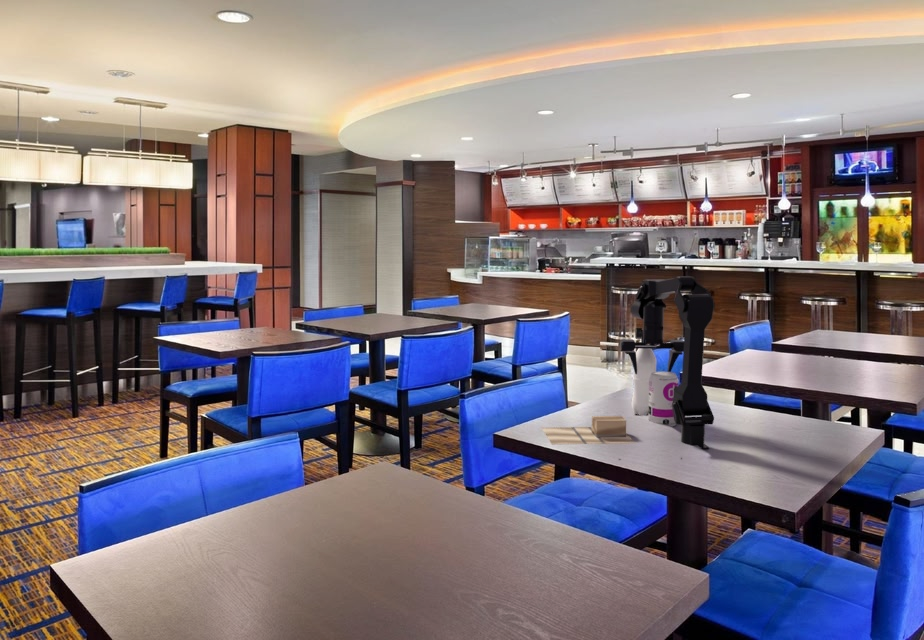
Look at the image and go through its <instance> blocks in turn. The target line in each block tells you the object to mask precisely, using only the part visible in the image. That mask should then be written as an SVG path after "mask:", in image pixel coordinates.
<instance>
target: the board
mask: <svg viewBox="0 0 924 640" xmlns="http://www.w3.org/2000/svg"><path fill="white" fill-rule="evenodd" d="M541 429H542V431H543V433H544V434H545V436H546V437H547V439H548V440H549V442H550V444H551V445H589V444H590V445H593V444H595V445H596V444H598V445H599V444H636V443H637V442H636V441H635V440H634V439H632V438H631V436H629V435H628V434H627V433H626V437H596V436H595V435H594V434H593V433H592V426H573V427H572V426H563V427H560V426H559V427H557V426H556V427H541Z"/></svg>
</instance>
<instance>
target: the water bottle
mask: <svg viewBox="0 0 924 640" xmlns="http://www.w3.org/2000/svg"><path fill="white" fill-rule="evenodd" d="M638 342H642V341H641V339H639V341H638ZM646 345H649V344H646ZM635 352H636V361H637V374H635V371H634V368H633V367H632V383H633V393H632V399H631V410H632V413H633V414H634V415H635V414H637V415H639V416H640V417H644V416H645V417H646V416H647V415H648V416H649V378H650V376H651V373H652V372H657V364H658V360H657V357H656V355H655V353H654V351H653V349H648V348H637V351H635Z"/></svg>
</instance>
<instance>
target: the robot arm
mask: <svg viewBox="0 0 924 640" xmlns="http://www.w3.org/2000/svg"><path fill="white" fill-rule="evenodd" d="M683 292H690V294H687V293H685V294H683ZM670 294H675V296H674V298H673V303H675V306H676V308H677V310H678V318H679V319H680V321H681V323H682V325H683V327H684V334H683V335H684V339H670V342H664V317H665V315H664V314H665V313H664V311H665V310H664V309H666V308H667V305H666V303H665V302H664V300H665V299H667V298H668V297H670ZM634 297H635V300H634V302H633V303H632V305H631V306H630V313H631V315H632V316H633V317H634V318H635V319H640V320H643V321H642V322H643V323H642V325H643V326H642V327H636V328H635V329H634V330H635V331H634V332H635V334H634V336H635V338H634V339H635V340H634V339H628V338H627V339H624V338H623V339H621V340H619V350H620V351H622V352H624V354H625V355H628V356H629V359H630V360H631V364H632V369H633V368H634V371H635V374H637V361H636V352H637V351H635V350H636V349H638V348H648V349H652V350H653V349H654V350H655V349H656V350H657V349H659V350H660V349H662V350H663V349H665V350H666V349H667V350H668V360H667V361H668V362H667V363H668V364H667V371H666V372H672V369H673V367H674V365H675V362H676V361H677V359H678V358H679V356H681V355H682V357H683V358H682V371H681V373H682V374H681V381H680V382H679V386H675V387H674V396H673V402H672V409H673V417H674V421H675V424H676V425H680V426H681V433H680V437H681V438H680V442H681V443H683V444H685V445H688V446H691V447H693V446H694V447H695V446H697V447H699V448H700V449H702V450H709V449H710V447H709V446H708V445H707V444H706V443H705V431H706V430H705V429H706V428H705V427H706V425H713V424H714V420H715V416H714V414H713V411H712V409H711V407H710V406H711V405H710V404H709V402H708V394H707V391H706V390H705V387H704V386H703V383H702V381H703V379H702V378H703V363H704V350H705V349H704V347H705V331H706V330H705V329H706V328H707V327H708V325H709V324H710V322H711V321H712V319H713V315H714V310H715V307H716V306H715V300H714V298H713V297H712V295H711V293H710V291H709V290H708V289H707V288H706V287H704V286H702V285H701V284H700V283H698V281H697V279H696V278H695V277H694V276H692V275H691V276H689V275H687V276H686V275H685V276H682V275H681V276H676V277H673V278H667V279H644V280H642V281H641V283H640V285H639V288H638V289H637V292H636V294H635V296H634ZM640 339H641V341H642V342H639V341H636V340H640ZM646 344H649V345H646Z"/></svg>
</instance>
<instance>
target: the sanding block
mask: <svg viewBox="0 0 924 640" xmlns="http://www.w3.org/2000/svg"><path fill="white" fill-rule="evenodd" d="M591 427H592V433H593V434H594V435H595V436H596V437H626V434H627V420H626V419H625V418H624V417H623V416H622V415H597V416H596V415H594V416H593V415H592V417H591Z"/></svg>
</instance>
